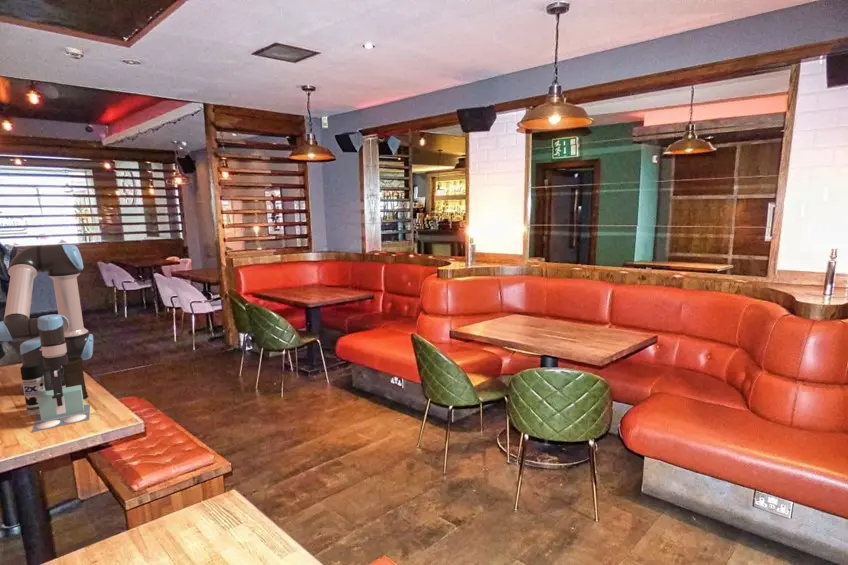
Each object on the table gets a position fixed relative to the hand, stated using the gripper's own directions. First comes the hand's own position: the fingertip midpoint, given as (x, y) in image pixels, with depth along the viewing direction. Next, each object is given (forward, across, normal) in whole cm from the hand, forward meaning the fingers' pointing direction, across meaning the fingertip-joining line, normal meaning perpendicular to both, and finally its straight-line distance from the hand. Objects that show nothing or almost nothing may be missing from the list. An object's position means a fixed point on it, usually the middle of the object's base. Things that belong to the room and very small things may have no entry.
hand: (62, 407), depth 185 cm
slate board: (+3, +5, 0) cm, 6 cm away
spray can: (+3, -9, -8) cm, 13 cm away
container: (+3, -16, +4) cm, 16 cm away
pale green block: (+2, 0, 0) cm, 2 cm away
